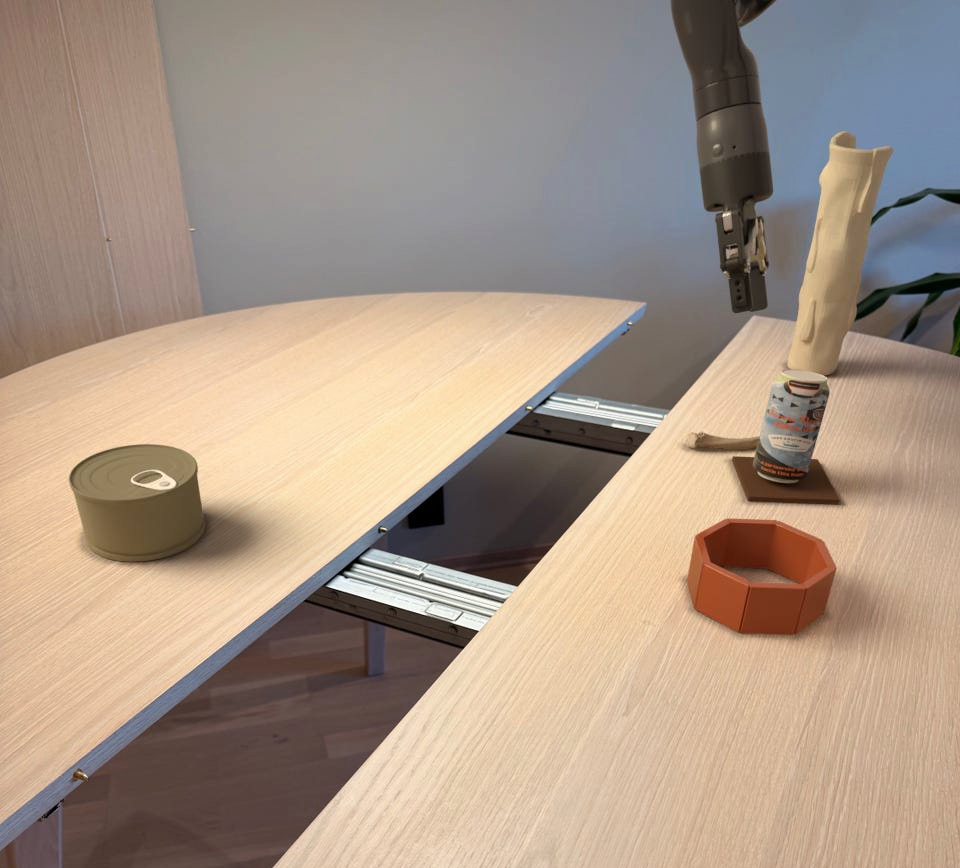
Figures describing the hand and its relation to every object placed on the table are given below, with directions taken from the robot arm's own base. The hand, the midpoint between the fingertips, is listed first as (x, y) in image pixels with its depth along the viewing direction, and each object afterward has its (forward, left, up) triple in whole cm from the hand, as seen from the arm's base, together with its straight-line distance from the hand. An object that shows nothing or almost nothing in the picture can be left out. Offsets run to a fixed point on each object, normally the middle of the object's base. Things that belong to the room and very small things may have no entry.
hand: (750, 311), depth 112 cm
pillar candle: (-16, -24, -16) cm, 33 cm away
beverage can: (-4, +11, -15) cm, 19 cm away
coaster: (-4, +12, -15) cm, 20 cm away
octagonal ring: (+4, +36, -15) cm, 39 cm away
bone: (0, +3, -16) cm, 16 cm away
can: (+64, +28, -16) cm, 71 cm away
